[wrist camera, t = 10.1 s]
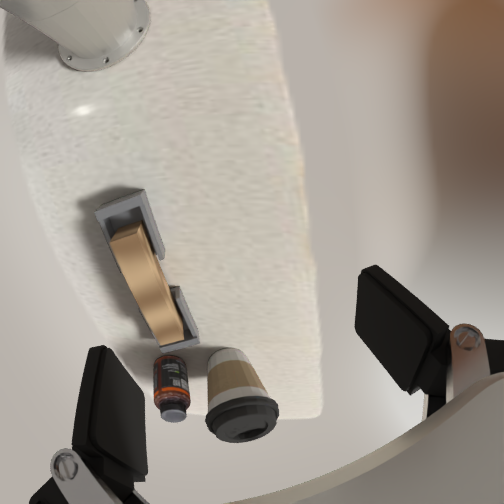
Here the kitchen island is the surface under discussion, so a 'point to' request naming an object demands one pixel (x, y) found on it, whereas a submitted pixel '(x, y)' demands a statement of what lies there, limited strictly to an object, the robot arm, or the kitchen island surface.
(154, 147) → the kitchen island surface
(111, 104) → the kitchen island surface
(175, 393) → the supplement bottle
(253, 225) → the kitchen island surface
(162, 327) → the light wood rectangular block
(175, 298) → the cap
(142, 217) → the cap
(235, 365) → the coffee cup
